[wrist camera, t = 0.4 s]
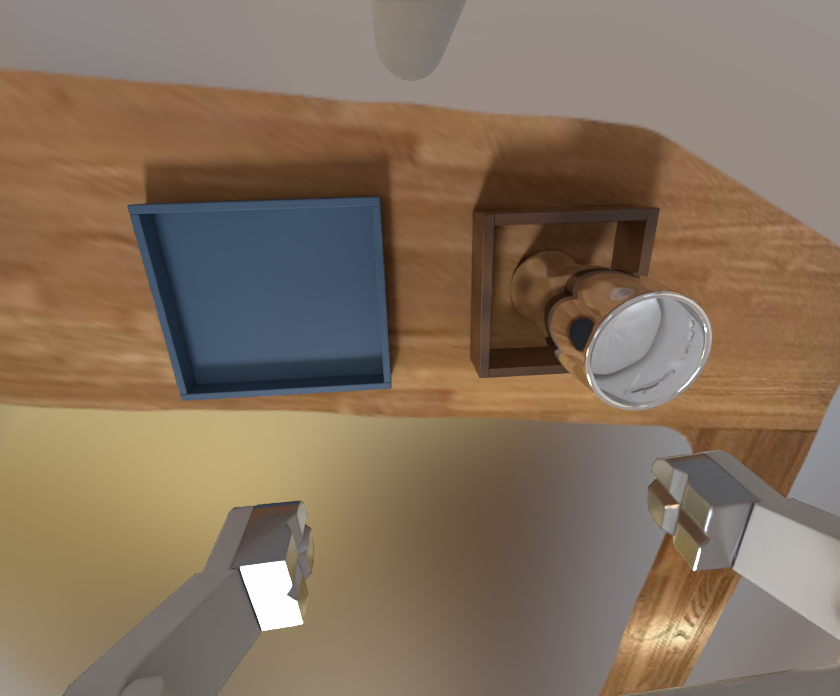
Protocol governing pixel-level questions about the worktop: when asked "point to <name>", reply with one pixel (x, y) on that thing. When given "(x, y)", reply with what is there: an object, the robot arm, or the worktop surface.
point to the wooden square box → (630, 235)
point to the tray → (269, 294)
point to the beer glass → (614, 328)
